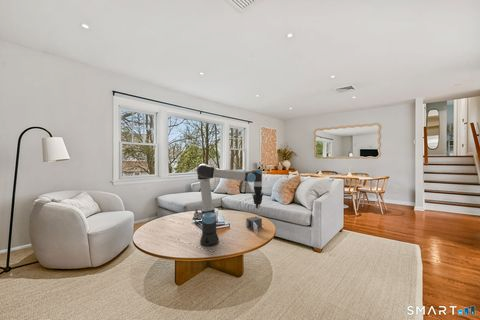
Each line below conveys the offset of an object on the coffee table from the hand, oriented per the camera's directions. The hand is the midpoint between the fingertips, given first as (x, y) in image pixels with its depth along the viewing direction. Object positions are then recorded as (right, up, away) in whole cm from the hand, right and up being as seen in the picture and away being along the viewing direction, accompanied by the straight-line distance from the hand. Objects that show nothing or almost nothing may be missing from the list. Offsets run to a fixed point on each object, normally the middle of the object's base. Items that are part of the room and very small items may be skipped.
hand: (257, 211), depth 193 cm
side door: (-3, -19, -1) cm, 20 cm away
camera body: (-3, -19, +12) cm, 23 cm away
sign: (-56, -19, +32) cm, 67 cm away
